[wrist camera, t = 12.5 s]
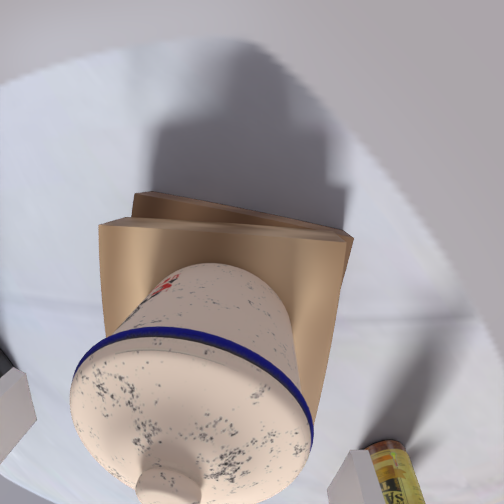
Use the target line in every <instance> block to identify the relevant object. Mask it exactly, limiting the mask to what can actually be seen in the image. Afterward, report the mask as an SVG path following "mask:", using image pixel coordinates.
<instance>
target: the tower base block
mask: <svg viewBox="0 0 504 504" xmlns="http://www.w3.org/2000/svg"><path fill="white" fill-rule="evenodd" d="M131 217H135V218H154V219H172V220H189V221H205V222H220V223H235V224H249V225H263V226H276V227H289V228H301V229H313V230H325V231H333V232H334V233H336V234H337V235H338V236H339V237H341V238H342V239H343V240H344V241H345V242H347V243H346V252H345V260H344V267H343V274H342V281H343V278H344V274H345V271H346V267H347V263H348V259H349V256H350V252H351V248H352V244H353V240H354V238H353V237H352V236H350V235H349V234H348V233H346V232H345V231H343V230H340V229H335V228H331V227H327V226H322V225H318V224H313V223H309V222H304V221H300V220H295V219H291V218H286V217H281V216H277V215H272V214H267V213H262V212H258V211H253V210H248V209H243V208H238V207H233V206H228V205H223V204H218V203H213V202H207V201H202V200H197V199H192V198H186V197H181V196H175V195H170V194H164V193H159V192H153V191H151V192H142V193H135V194H134V201H133V208H132V216H131ZM342 281H341V285H342ZM340 289H341V288H340Z"/></svg>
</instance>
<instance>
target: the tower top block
mask: <svg viewBox="0 0 504 504" xmlns="http://www.w3.org/2000/svg"><path fill="white" fill-rule="evenodd" d="M346 243H347V242H345V241H344V240H343V239H342V238H341V237H339V236H338V235H337V234H336V233H334V232H333V231H325V230H313V229H301V228H289V227H276V226H263V225H249V224H235V223H220V222H205V221H189V220H172V219H154V218H135V217H125V218H121V219H118V220H114V221H111V222H107V223H104V224H100V225H99V260H100V278H101V292H102V304H103V314H104V324H105V332H106V338H107V337H109V336H111V335H112V334H113V333H114V332H115V331H116V330H117V328H118V327H119V326H120V325H121V324H122V323H123V322H124V321H125V320H126V318H127V317H128V316H129V315H130V314H131V313H132V312H133V311H134V310H135V309H136V308H137V306H138V305H139V304H140V303H141V302H142V301H143V300H144V299H145V298H146V297H147V296H148V295H149V293H150V292H151V291H152V290H153V289H154V288H155V287H156V286H157V285H158V284H159V283H160V282H161V281H162V280H163V279H164V278H166V277H167V276H169V275H170V274H172V273H174V272H175V271H177V270H180V269H182V268H185V267H188V266H191V265H196V264H203V263H218V264H226V265H231V266H234V267H238V268H240V269H243V270H246V271H248V272H250V273H252V274H253V275H255V276H257V277H258V278H260V279H261V280H262V281H264V282H265V283H266V284H267V285H268V286H270V287H271V288H272V289H273V291H274V292H275V293H276V294H277V295H278V297H279V298H280V299H281V301H282V303H283V305H284V306H285V308H286V311H287V313H288V316H289V319H290V323H291V328H292V334H293V341H294V347H295V353H296V360H297V366H298V373H299V379H300V386H301V393H302V395H303V397H304V399H305V401H306V403H307V405H308V407H309V410H310V413H311V416H312V420H313V426H314V422H315V418H316V414H317V409H318V405H319V401H320V396H321V392H322V387H323V382H324V378H325V373H326V368H327V363H328V358H329V353H330V348H331V342H332V337H333V331H334V326H335V320H336V314H337V308H338V301H339V295H340V288H341V281H342V274H343V267H344V260H345V252H346Z"/></svg>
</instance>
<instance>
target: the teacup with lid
mask: <svg viewBox="0 0 504 504" xmlns="http://www.w3.org/2000/svg"><path fill="white" fill-rule="evenodd" d="M70 410H71V416H72V420H73V423H74V426H75V429H76V431H77V433H78V435H79V437H80V439H81V441H82V442H83V444H84V445H85V447H86V448H87V450H88V451H89V452H90V454H91V455H92V456H93V457H94V458H95V459H96V461H97V462H98V463H99V464H100V465H101V466H102V467H103V468H105V469H106V470H107V471H108V472H109V473H110V474H112V475H113V476H114V477H115V478H117V479H118V480H120V481H121V482H123V483H124V484H126V485H127V486H129V487H131V488H133V489H134V490H135V492H136V495H137V497H138V499H139V501H140V502H141V503H142V504H256V503H259V502H261V501H264V500H266V499H268V498H270V497H272V496H274V495H276V494H278V493H279V492H281V491H282V490H283V489H285V488H286V487H287V486H288V485H290V484H291V483H292V482H293V481H294V479H295V478H296V477H297V476H298V475H299V473H300V472H301V470H302V469H303V467H304V466H305V464H306V461H307V459H308V456H309V453H310V451H311V447H312V444H313V437H314V426H313V420H312V416H311V413H310V410H309V407H308V405H307V403H306V401H305V399H304V397H303V395H302V393H301V386H300V379H299V373H298V366H297V360H296V353H295V347H294V341H293V334H292V328H291V323H290V319H289V316H288V313H287V311H286V308H285V306H284V305H283V303H282V301H281V299H280V298H279V297H278V295H277V294H276V293H275V292H274V291H273V289H272V288H271V287H270V286H268V285H267V284H266V283H265V282H264V281H262V280H261V279H260V278H258V277H257V276H255V275H253V274H252V273H250V272H248V271H246V270H243V269H240V268H238V267H234V266H231V265H226V264H218V263H203V264H196V265H191V266H188V267H185V268H182V269H180V270H177V271H175V272H174V273H172V274H170V275H169V276H167V277H166V278H164V279H163V280H162V281H161V282H160V283H159V284H158V285H157V286H156V287H155V288H154V289H153V290H152V291H151V292H150V293H149V295H148V296H147V297H146V298H145V299H144V300H143V301H142V302H141V303H140V304H139V305H138V306H137V308H136V309H135V310H134V311H133V312H132V313H131V314H130V315H129V316H128V317H127V318H126V320H125V321H124V322H123V323H122V324H121V325H120V326H119V327H118V328H117V330H116V331H115V332H114V333H113V334H112V335H111V336H109V337H107V338H105V339H103V340H101V341H100V342H98V343H97V344H96V345H94V346H93V347H92V348H91V349H90V350H89V351H88V352H87V353H86V354H85V355H84V356H83V358H82V359H81V360H80V362H79V364H78V366H77V368H76V370H75V373H74V376H73V380H72V384H71V389H70Z"/></svg>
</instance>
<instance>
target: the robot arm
mask: <svg viewBox="0 0 504 504" xmlns="http://www.w3.org/2000/svg"><path fill="white" fill-rule="evenodd" d="M36 421H37V417H36V414H35V410H34V406H33V402H32V398H31V394H30V390H29V385H28V381H27V376H26V373H24V372H22V371H20V370H18V369H16V368H14V367H13V365H12V364H11V362H10V361H9V360H8V358H7V357H6V356H5V354H4V353H3V352H2V350H1V349H0V464H1V463H2V462H3V460H4V459H5V458H6V457H7V455H8V454H9V453H10V452H11V451H12V449H13V448H14V447H15V446H16V445H17V443H18V442H19V441H20V440H21V438H22V437H23V436H24V435H25V434H26V433H27V431H28V430H29V429H30V428H31V427H32V425H33V424H34V423H35V422H36ZM327 492H328V498H329V504H386V503H385V500H384V497H383V494H382V491H381V487H380V484H379V481H378V478H377V475H376V472H375V469H374V466H373V463H372V460H371V457H370V454H369V451H368V450H350V451H349V453H348V455H347V457H346V458H345V460H344V462H343V464H342V465H341V467H340V469H339V471H338V472H337V474H336V476H335V477H334V479H333V481H332V482H331V484H330V486H329V487H328V489H327Z"/></svg>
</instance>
